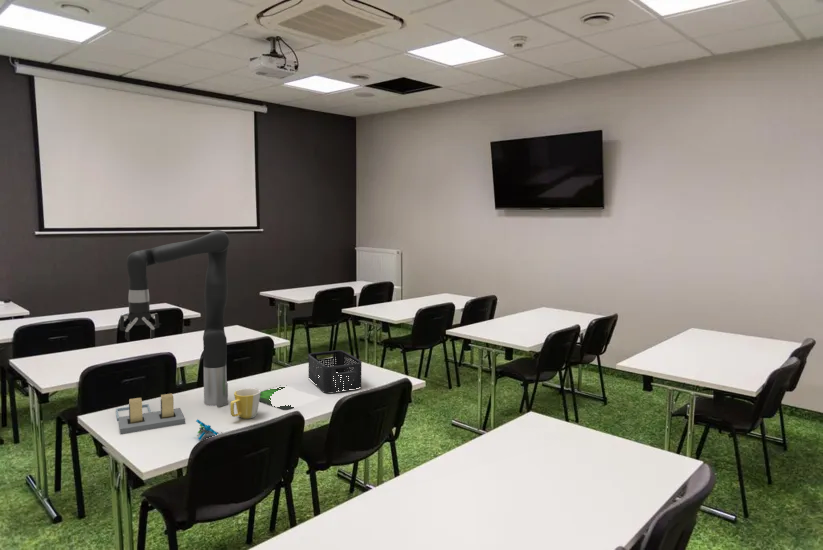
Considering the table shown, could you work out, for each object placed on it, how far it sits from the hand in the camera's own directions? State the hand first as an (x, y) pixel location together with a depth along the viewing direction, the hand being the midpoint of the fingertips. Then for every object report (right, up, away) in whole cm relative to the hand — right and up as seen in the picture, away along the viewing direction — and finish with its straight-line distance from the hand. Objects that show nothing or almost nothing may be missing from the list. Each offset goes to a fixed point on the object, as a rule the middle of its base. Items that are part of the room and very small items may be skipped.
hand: (140, 339), depth 216 cm
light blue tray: (-1, -31, -3) cm, 31 cm away
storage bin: (+73, -28, +45) cm, 90 cm away
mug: (+43, -32, -2) cm, 54 cm away
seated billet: (+15, -31, -9) cm, 36 cm away
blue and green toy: (+36, -34, -21) cm, 54 cm away
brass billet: (+6, -31, -15) cm, 35 cm away
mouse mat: (+54, -30, +23) cm, 66 cm away
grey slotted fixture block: (+11, -32, -12) cm, 36 cm away
